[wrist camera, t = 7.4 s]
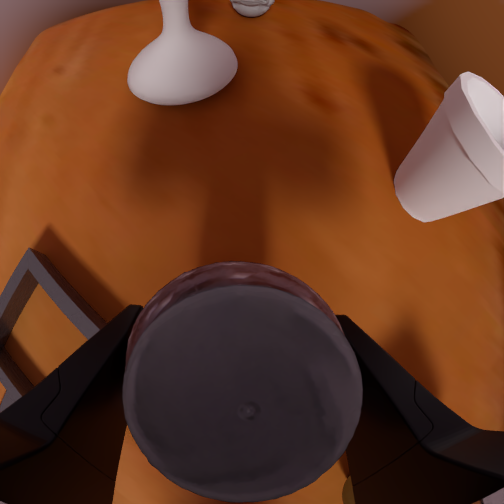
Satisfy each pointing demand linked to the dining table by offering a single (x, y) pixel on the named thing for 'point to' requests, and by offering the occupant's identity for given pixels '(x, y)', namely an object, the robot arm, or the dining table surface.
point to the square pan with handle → (15, 298)
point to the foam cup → (456, 154)
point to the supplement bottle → (240, 383)
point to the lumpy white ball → (251, 7)
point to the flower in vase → (181, 62)
